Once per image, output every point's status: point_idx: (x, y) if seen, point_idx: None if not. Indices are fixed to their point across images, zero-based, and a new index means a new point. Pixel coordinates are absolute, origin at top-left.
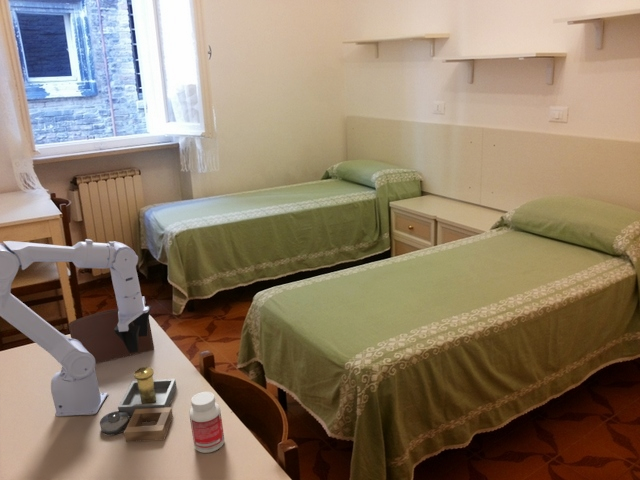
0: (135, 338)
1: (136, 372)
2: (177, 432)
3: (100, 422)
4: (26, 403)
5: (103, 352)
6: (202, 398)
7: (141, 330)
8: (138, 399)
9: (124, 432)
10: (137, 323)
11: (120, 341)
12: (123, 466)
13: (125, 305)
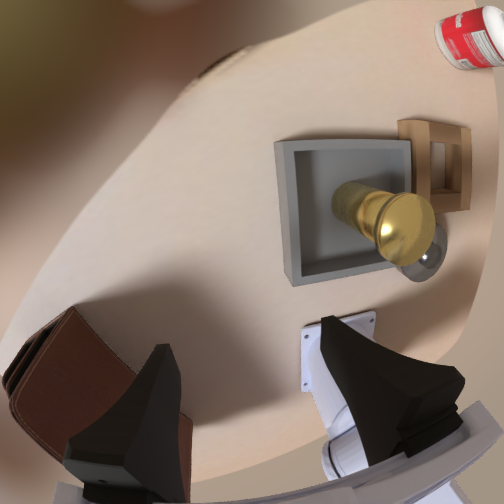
0: (398, 357)
1: (409, 257)
2: (437, 103)
3: (428, 277)
4: (311, 426)
5: None
6: None
7: (171, 384)
8: (341, 236)
9: (469, 208)
10: (171, 429)
11: (115, 398)
12: (489, 185)
13: None
